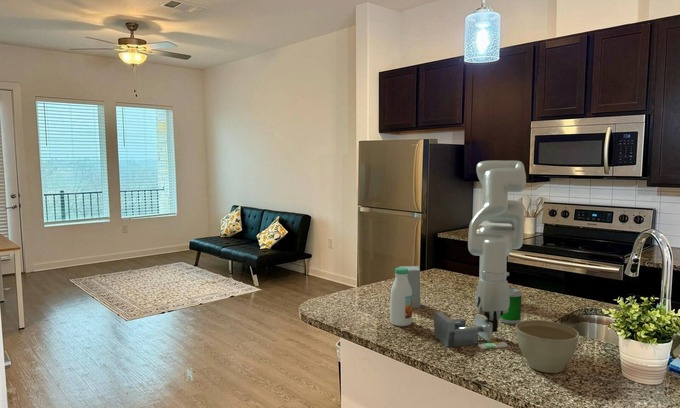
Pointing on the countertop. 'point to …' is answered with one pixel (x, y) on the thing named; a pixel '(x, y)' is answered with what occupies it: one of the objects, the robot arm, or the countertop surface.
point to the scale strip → (492, 345)
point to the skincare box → (414, 284)
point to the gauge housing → (453, 331)
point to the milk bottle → (401, 299)
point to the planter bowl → (546, 344)
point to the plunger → (483, 328)
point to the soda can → (513, 307)
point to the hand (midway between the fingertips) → (492, 330)
